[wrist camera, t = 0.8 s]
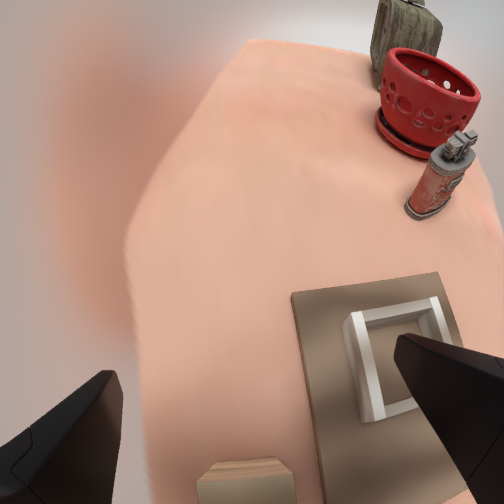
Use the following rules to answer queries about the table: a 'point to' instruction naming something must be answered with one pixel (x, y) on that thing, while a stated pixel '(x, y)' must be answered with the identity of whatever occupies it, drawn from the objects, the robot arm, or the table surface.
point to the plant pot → (423, 101)
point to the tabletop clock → (403, 31)
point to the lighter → (441, 176)
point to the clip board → (374, 390)
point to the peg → (247, 483)
